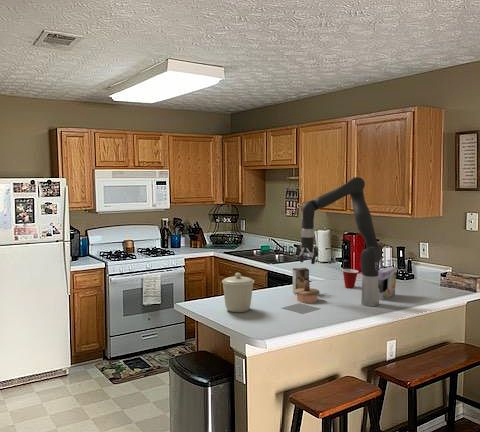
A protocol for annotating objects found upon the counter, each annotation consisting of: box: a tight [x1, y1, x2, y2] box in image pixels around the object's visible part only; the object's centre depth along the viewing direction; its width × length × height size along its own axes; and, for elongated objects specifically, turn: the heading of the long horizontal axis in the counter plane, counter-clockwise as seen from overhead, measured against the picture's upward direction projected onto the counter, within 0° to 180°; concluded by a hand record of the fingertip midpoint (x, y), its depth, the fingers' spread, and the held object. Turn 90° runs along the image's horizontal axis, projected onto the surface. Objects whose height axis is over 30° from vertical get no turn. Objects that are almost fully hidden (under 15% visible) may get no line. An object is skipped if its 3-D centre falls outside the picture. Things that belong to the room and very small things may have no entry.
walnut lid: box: [293, 280, 320, 296], centre depth 297 cm, size 15×15×7 cm
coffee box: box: [292, 267, 310, 295], centre depth 315 cm, size 9×6×16 cm
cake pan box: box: [378, 266, 397, 301], centre depth 306 cm, size 19×5×18 cm, turn 136°
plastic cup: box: [341, 268, 359, 289], centre depth 332 cm, size 11×11×12 cm
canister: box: [221, 272, 255, 313], centre depth 275 cm, size 18×18×21 cm
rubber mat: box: [281, 302, 321, 315], centre depth 279 cm, size 16×16×1 cm
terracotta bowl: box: [296, 294, 318, 304], centre depth 297 cm, size 11×11×5 cm
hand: (307, 263), depth 296 cm, fingers open, 8 cm apart
